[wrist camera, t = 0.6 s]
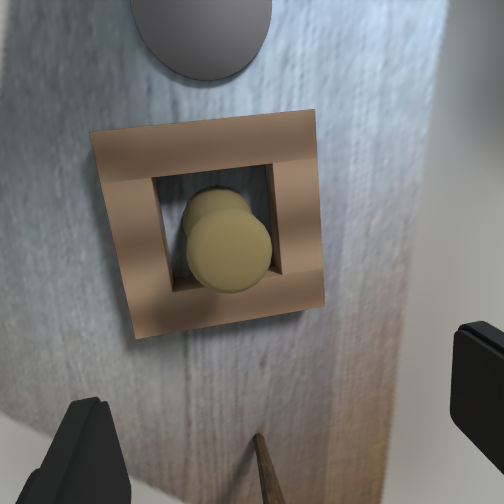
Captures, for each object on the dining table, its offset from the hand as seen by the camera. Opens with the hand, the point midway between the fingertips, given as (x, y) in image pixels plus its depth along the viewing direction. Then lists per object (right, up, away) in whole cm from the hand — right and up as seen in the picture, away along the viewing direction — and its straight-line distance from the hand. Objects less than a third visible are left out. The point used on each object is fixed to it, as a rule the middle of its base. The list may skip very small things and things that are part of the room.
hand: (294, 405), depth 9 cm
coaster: (-5, +22, +17) cm, 28 cm away
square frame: (-4, +7, +21) cm, 23 cm away
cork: (-4, +7, +21) cm, 23 cm away
